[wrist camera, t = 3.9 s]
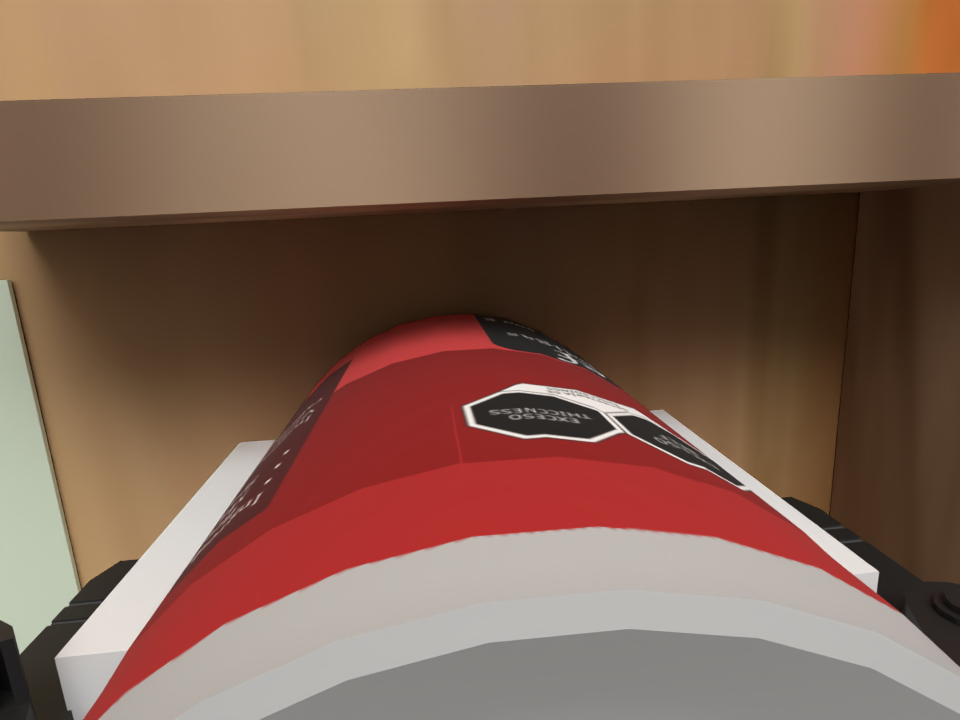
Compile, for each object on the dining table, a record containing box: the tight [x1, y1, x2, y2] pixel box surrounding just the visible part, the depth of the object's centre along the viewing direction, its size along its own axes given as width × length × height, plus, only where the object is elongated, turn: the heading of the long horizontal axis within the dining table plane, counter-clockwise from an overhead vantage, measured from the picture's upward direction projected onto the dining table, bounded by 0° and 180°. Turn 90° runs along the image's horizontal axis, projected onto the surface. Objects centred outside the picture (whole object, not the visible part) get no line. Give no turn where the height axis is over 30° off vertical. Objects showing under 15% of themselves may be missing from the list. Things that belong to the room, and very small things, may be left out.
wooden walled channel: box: [0, 73, 960, 584], centre depth 12 cm, size 20×15×5 cm
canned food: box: [83, 314, 960, 720], centre depth 9 cm, size 8×8×11 cm
